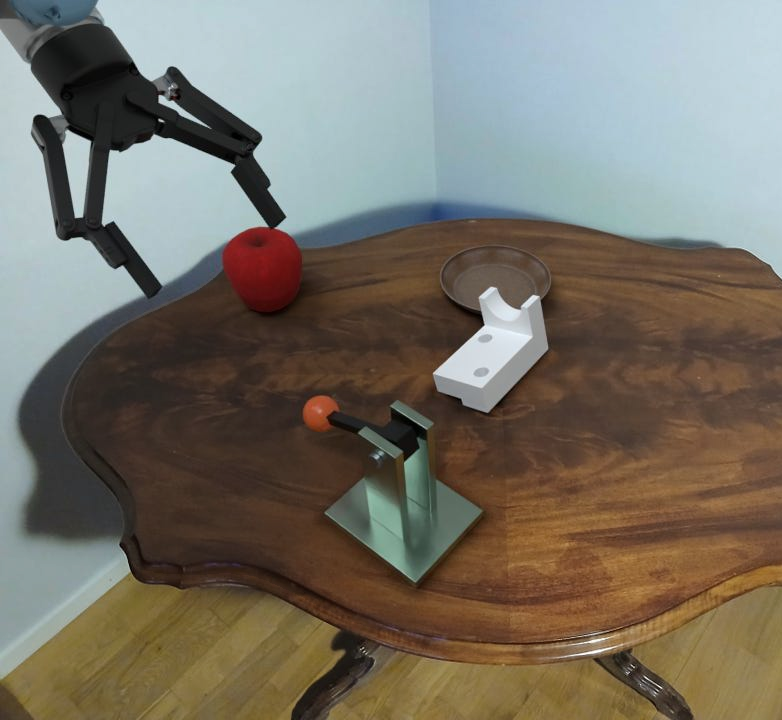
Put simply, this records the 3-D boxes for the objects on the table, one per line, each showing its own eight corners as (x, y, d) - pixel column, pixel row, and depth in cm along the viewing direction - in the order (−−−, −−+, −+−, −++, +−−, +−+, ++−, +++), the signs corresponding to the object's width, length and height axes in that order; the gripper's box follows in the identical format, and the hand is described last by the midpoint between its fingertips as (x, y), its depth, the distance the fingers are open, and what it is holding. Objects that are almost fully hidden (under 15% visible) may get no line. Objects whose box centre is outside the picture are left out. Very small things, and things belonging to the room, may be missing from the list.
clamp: (325, 519, 72) (304, 428, 62) (394, 457, 78) (385, 365, 68) (416, 589, 67) (409, 502, 57) (483, 517, 73) (486, 426, 63)
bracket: (501, 337, 93) (490, 286, 89) (548, 348, 89) (539, 296, 85) (439, 397, 85) (424, 345, 81) (487, 412, 81) (474, 358, 77)
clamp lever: (303, 434, 72) (289, 405, 70) (330, 413, 74) (317, 384, 72) (400, 473, 63) (387, 441, 61) (428, 448, 65) (416, 416, 63)
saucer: (462, 249, 105) (462, 234, 103) (561, 272, 102) (563, 256, 100) (422, 312, 95) (422, 295, 93) (531, 339, 92) (532, 323, 90)
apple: (301, 329, 92) (287, 259, 84) (225, 326, 92) (204, 256, 84) (315, 280, 99) (304, 212, 92) (245, 278, 99) (227, 209, 92)
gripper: (182, 28, 72) (308, 212, 76) (-84, 117, 58) (88, 337, 62) (202, -17, 66) (337, 184, 70) (-90, 69, 52) (101, 316, 56)
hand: (221, 256), depth 66 cm, fingers open, 13 cm apart
